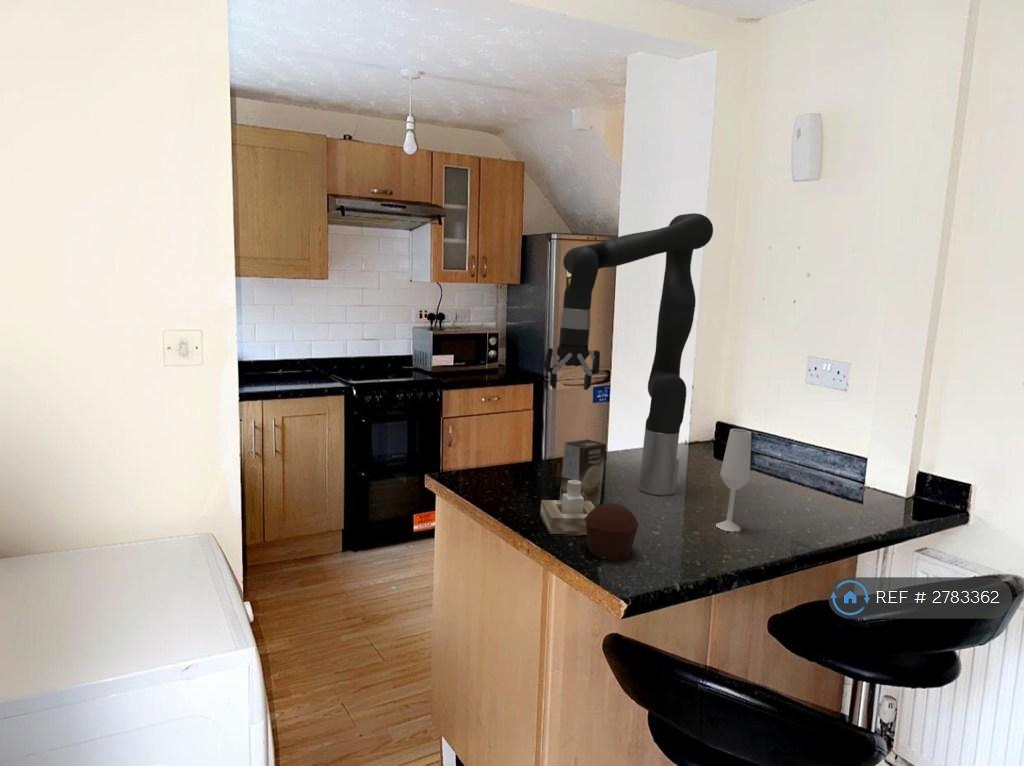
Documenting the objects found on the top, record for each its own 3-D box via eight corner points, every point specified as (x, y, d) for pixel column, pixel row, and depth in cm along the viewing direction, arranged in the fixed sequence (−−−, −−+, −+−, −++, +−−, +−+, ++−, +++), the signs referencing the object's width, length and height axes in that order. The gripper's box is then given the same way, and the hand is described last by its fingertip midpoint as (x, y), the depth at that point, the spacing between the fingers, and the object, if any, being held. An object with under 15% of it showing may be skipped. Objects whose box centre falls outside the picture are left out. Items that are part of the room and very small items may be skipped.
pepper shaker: (566, 525, 159) (570, 484, 157) (559, 518, 162) (563, 479, 161) (582, 524, 160) (586, 484, 159) (575, 517, 164) (578, 478, 162)
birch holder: (588, 516, 168) (590, 501, 167) (602, 535, 156) (604, 518, 156) (540, 516, 166) (541, 499, 166) (550, 535, 154) (551, 517, 154)
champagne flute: (728, 522, 172) (740, 427, 168) (748, 531, 166) (762, 433, 162) (707, 524, 169) (719, 428, 165) (727, 534, 163) (740, 435, 159)
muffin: (605, 537, 156) (610, 494, 154) (646, 554, 148) (651, 509, 146) (570, 548, 148) (574, 503, 146) (611, 567, 140) (616, 519, 138)
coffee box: (577, 511, 171) (583, 448, 169) (558, 504, 176) (563, 442, 173) (600, 504, 178) (606, 443, 175) (581, 498, 182) (587, 438, 180)
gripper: (598, 327, 183) (592, 387, 186) (545, 323, 181) (540, 385, 183) (606, 329, 176) (600, 392, 178) (550, 326, 173) (545, 390, 176)
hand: (569, 388), depth 181 cm, fingers open, 8 cm apart
